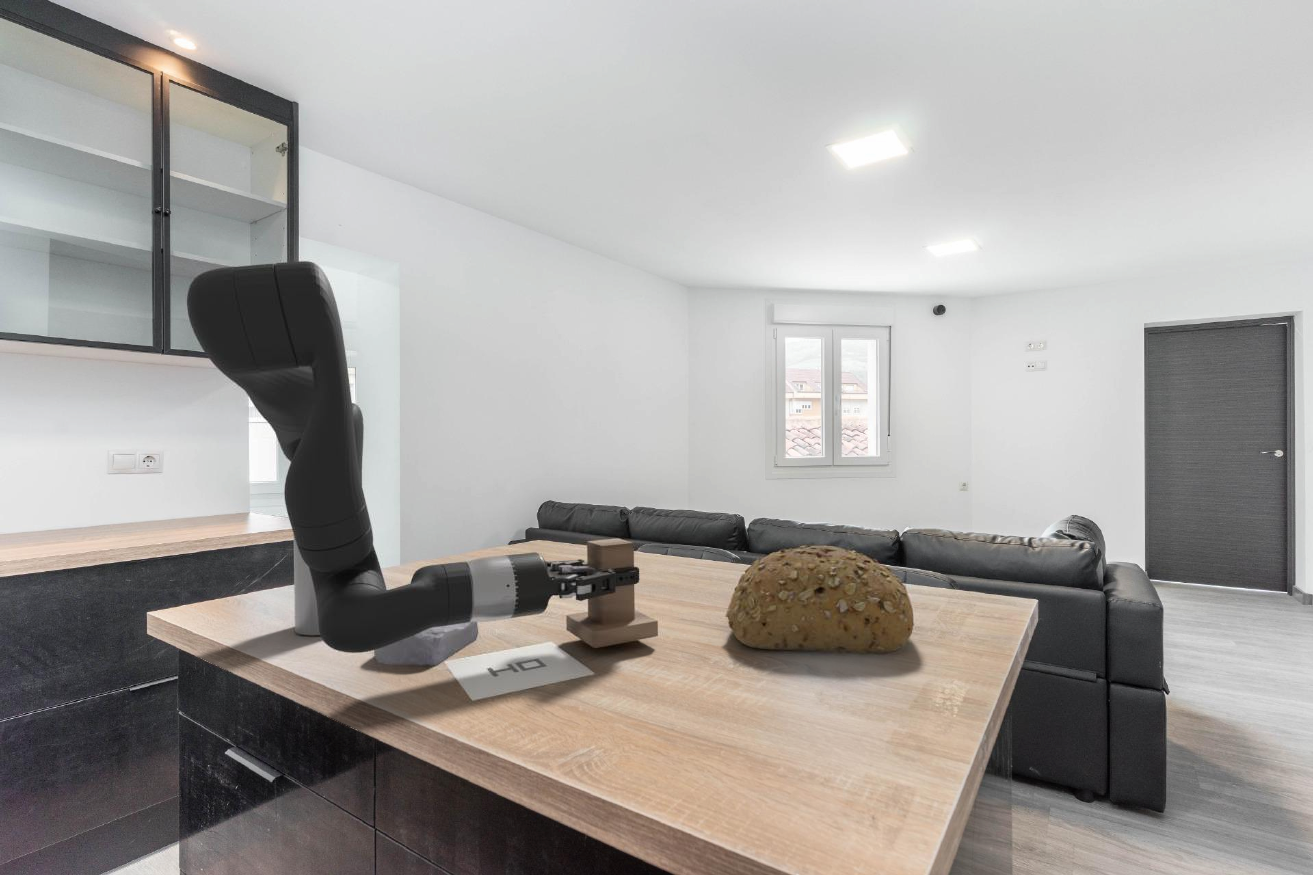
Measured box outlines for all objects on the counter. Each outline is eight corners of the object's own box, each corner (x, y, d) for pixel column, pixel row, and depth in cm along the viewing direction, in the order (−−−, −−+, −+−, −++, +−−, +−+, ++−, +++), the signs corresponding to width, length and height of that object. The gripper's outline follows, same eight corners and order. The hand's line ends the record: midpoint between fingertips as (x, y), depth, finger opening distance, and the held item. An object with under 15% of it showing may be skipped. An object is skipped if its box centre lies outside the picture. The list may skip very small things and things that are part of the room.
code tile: (443, 662, 79) (443, 661, 79) (551, 642, 86) (551, 641, 86) (472, 701, 67) (472, 700, 67) (595, 674, 74) (595, 673, 74)
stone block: (367, 680, 79) (441, 668, 77) (361, 641, 79) (434, 628, 77) (420, 652, 90) (485, 640, 89) (414, 618, 91) (479, 606, 89)
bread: (888, 614, 97) (887, 535, 98) (930, 662, 76) (928, 562, 76) (727, 611, 100) (725, 534, 101) (724, 657, 79) (722, 560, 79)
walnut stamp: (566, 629, 86) (565, 540, 86) (626, 619, 91) (624, 535, 91) (594, 648, 79) (593, 550, 79) (657, 636, 83) (656, 543, 83)
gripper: (522, 565, 72) (655, 550, 80) (487, 547, 84) (605, 536, 92) (522, 632, 71) (655, 610, 80) (487, 605, 84) (606, 588, 92)
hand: (628, 571), depth 86 cm, fingers closed on walnut stamp, 4 cm apart
